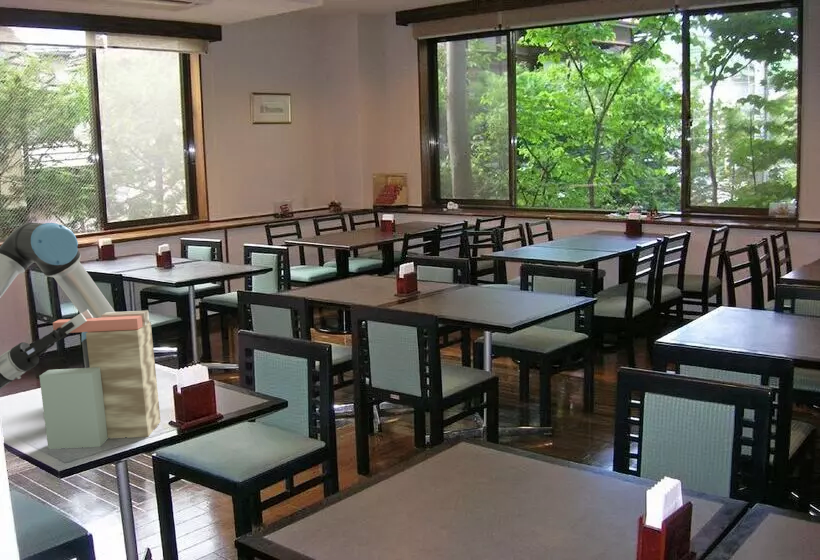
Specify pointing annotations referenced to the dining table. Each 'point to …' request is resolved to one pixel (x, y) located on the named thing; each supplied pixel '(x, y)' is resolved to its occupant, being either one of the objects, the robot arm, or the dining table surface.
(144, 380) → the tall wood-grain block
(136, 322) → the stub
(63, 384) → the block
